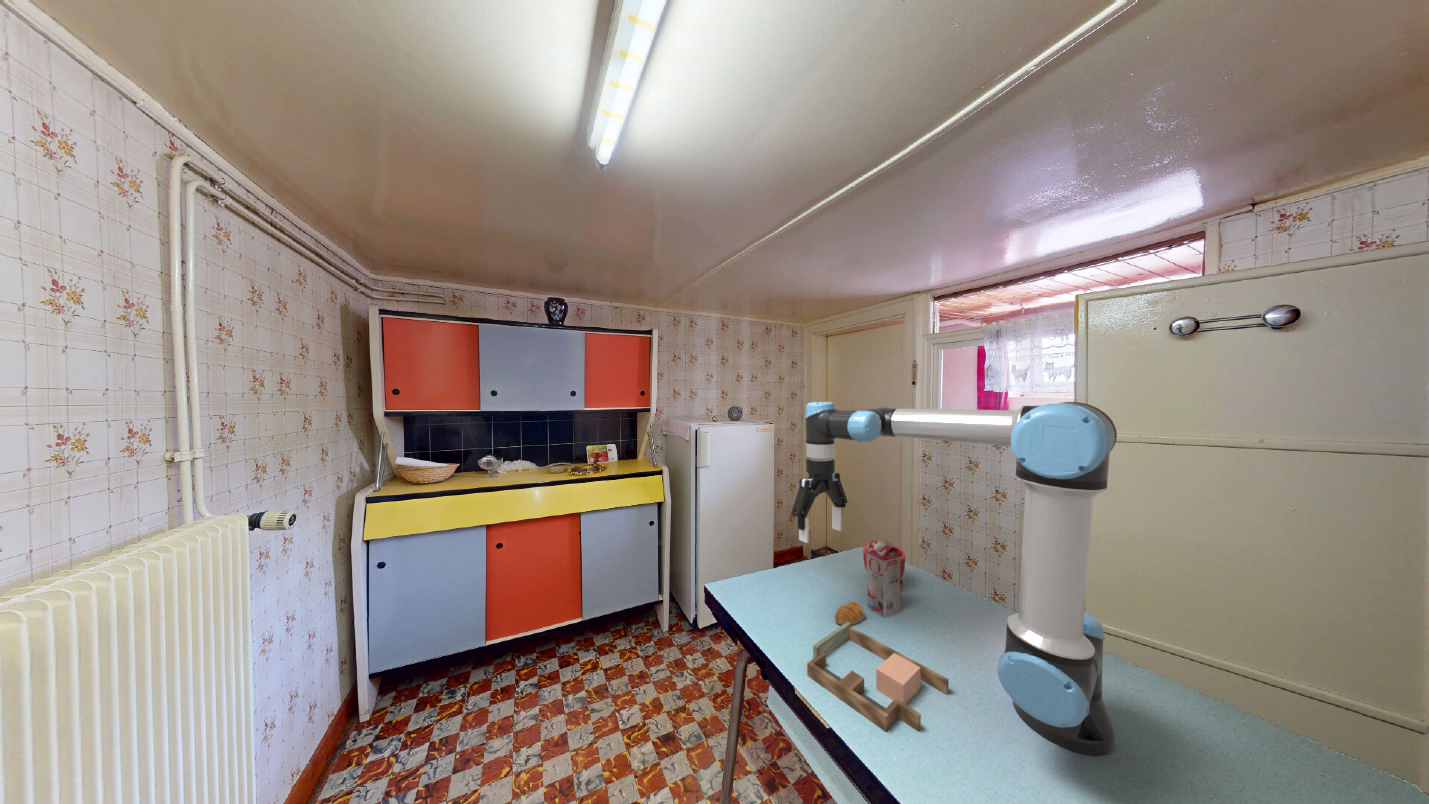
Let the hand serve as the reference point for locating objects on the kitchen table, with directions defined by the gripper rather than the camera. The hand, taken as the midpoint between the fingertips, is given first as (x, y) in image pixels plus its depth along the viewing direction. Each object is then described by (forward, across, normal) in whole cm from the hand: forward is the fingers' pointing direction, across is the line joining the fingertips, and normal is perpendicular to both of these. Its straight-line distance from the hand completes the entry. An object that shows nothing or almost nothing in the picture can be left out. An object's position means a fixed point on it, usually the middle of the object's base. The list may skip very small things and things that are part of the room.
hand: (820, 535), depth 104 cm
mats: (+27, +12, +18) cm, 35 cm away
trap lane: (+27, +5, +18) cm, 33 cm away
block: (+28, +2, +23) cm, 36 cm away
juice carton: (+28, -24, +4) cm, 37 cm away
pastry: (+28, -12, +1) cm, 30 cm away
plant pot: (+28, -37, -4) cm, 47 cm away
